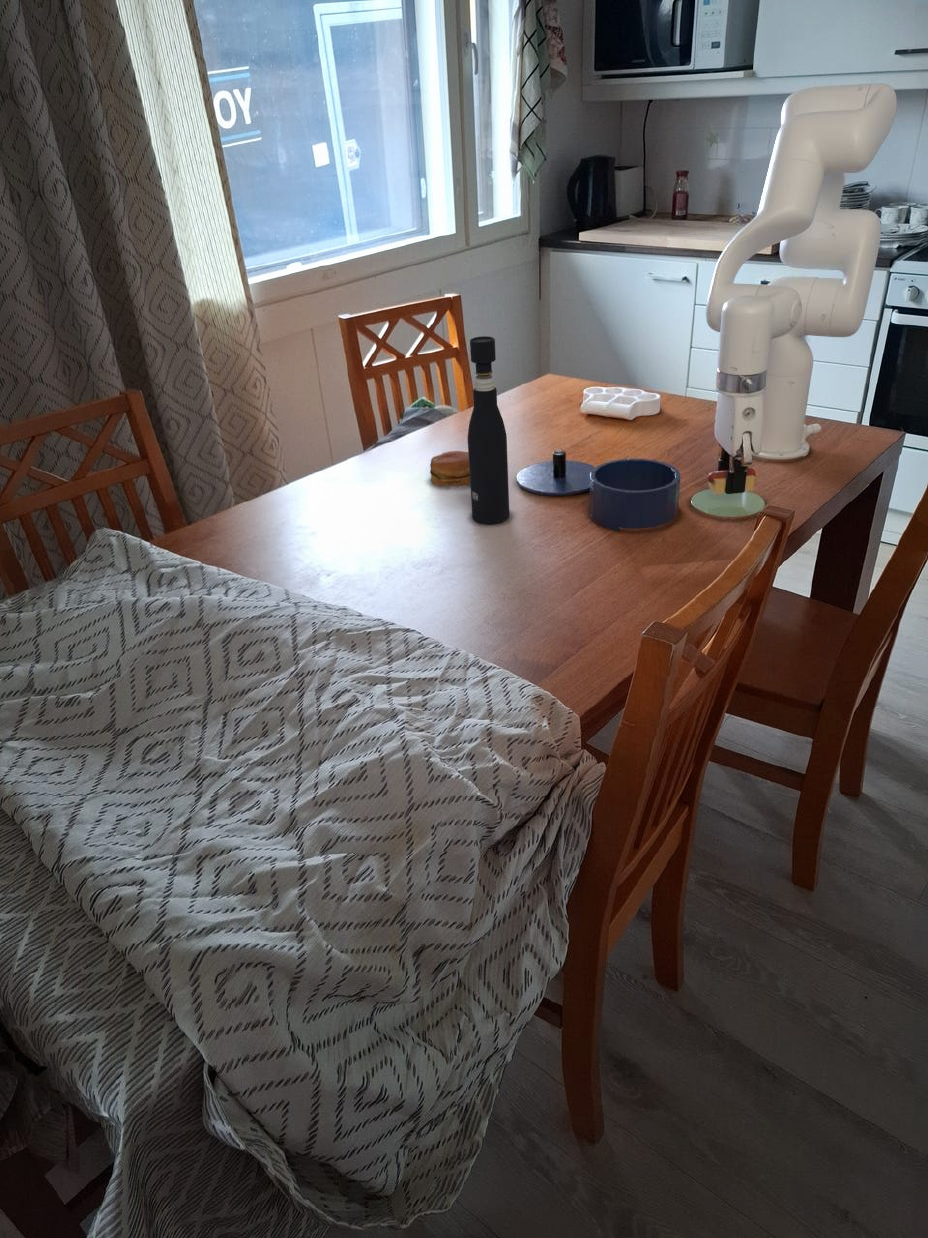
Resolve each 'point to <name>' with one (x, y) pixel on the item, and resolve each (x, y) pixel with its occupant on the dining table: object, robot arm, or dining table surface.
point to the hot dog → (719, 481)
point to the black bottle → (487, 441)
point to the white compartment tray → (619, 402)
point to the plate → (728, 503)
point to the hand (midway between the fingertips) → (730, 486)
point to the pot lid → (556, 476)
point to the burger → (450, 469)
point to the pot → (634, 494)
